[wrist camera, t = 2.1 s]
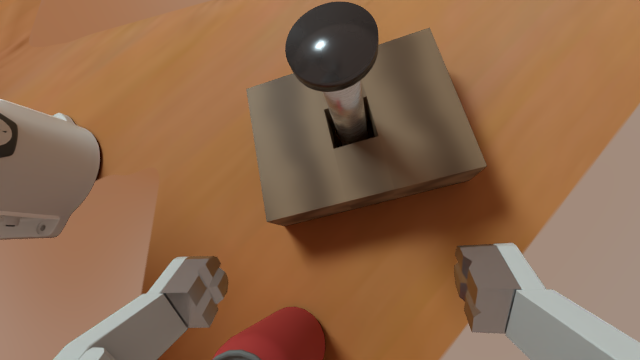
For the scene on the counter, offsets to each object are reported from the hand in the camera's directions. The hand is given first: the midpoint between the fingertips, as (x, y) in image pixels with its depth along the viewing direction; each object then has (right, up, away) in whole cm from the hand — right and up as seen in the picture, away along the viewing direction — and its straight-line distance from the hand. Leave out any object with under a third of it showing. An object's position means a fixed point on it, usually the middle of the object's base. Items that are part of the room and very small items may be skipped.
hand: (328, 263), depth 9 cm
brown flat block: (+4, +7, +22) cm, 24 cm away
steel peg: (+4, +7, +22) cm, 24 cm away
